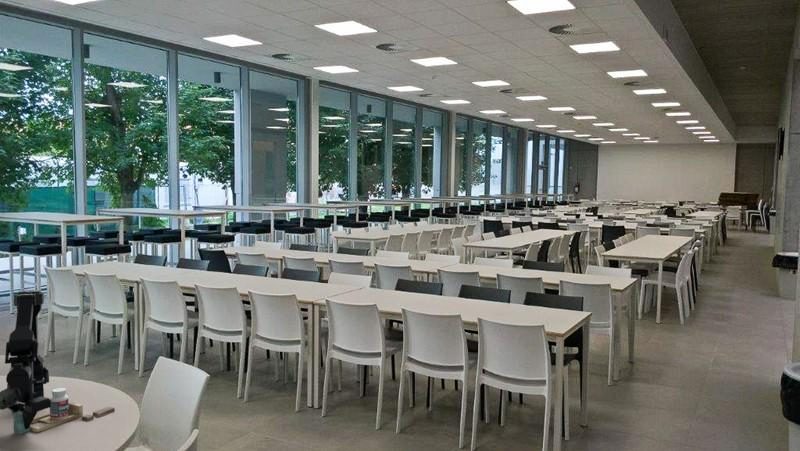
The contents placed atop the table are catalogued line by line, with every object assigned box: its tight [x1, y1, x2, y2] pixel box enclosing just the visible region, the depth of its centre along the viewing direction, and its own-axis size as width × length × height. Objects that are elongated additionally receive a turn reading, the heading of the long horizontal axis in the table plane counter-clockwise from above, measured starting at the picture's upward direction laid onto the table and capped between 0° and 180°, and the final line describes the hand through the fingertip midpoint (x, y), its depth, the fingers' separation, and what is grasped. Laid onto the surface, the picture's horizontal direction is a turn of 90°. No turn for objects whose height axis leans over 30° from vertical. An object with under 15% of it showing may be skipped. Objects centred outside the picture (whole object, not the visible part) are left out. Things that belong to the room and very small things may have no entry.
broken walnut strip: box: [81, 406, 115, 422], centre depth 206 cm, size 3×10×1 cm, turn 154°
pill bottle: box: [49, 387, 69, 420], centre depth 202 cm, size 5×5×9 cm
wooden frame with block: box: [12, 400, 84, 435], centre depth 198 cm, size 9×19×6 cm, turn 154°
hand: (23, 427), depth 192 cm, fingers closed on wooden frame with block, 3 cm apart
